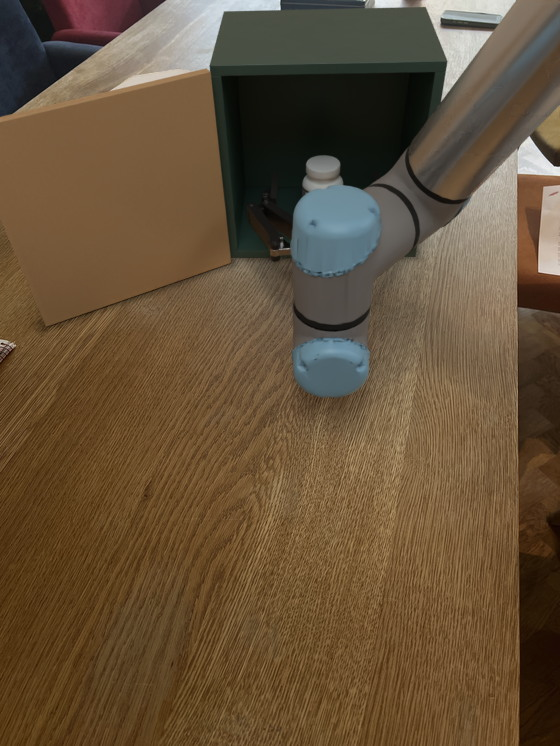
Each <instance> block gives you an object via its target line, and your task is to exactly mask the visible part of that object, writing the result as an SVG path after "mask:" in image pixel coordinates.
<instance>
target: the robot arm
mask: <svg viewBox="0 0 560 746" xmlns="http://www.w3.org/2000/svg"><path fill="white" fill-rule="evenodd" d="M559 107H560V0H515V1H514V3H513V4H512V5H511V7H510V8H509V9H508V11H507V12H506V14H505V15H504V16H503V17H502V19H501V20H500V21H499V23H498V24H497V26H496V27H495V28H494V30H493V31H492V32H491V33H490V35H489V36H488V38H487V39H486V41H485V42H484V43H483V45H482V46H481V47H480V49H479V50H478V51H477V53H476V54H475V55H474V56H473V58H472V59H471V61H470V62H469V64H467V66H466V67H465V69H464V70H463V71H462V72H461V74H460V75H459V77H458V78H457V80H456V81H455V82H454V84H453V85H452V86H451V88H450V89H449V90H448V92H447V93H446V94H445V96H444V97H443V98H442V99H441V103H440V104H439V105H438V107H437V108H436V110H435V111H434V112H433V114H432V115H431V116H430V118H429V119H428V120H427V122H426V123H425V124H424V126H423V127H422V128H421V130H420V131H419V133H418V134H417V135H416V137H415V138H414V139H413V141H412V143H411V145H410V146H409V147H408V148H407V149H406V151H405V152H404V153H403V155H402V156H401V157H400V159H399V160H398V161H397V163H396V164H395V165H394V166H393V168H392V169H391V170H390V171H389V172H388V173H387V174H385V175H384V176H383V177H381V178H380V173H379V171H374V172H373V183H372V184H371V185H369V186H367V187H366V188H365V189H363V190H361V189H359V188H355V187H352V186H345V185H331V186H328V188H327V189H315V190H312V191H310V192H309V193H307V194H306V195H304V196H303V197H302V198H301V199H300V200H299V202H298V203H297V205H296V207H295V210H294V214H293V216H292V215H291V214H289V213H288V212H286V211H285V210H283V209H282V208H280V207H279V206H277V205H278V191H279V188H278V172H272V183H271V190H264V191H263V192H262V195H261V203H260V204H257V205H256V204H255V203H253V202H250V203H248V204H247V216H248V223H249V224H250V225H251V227H252V228H253V229H254V231H255V232H256V233H257V235H258V236H259V237H260V239H261V240H262V241H263V243H264V244H265V245H266V247H267V248H268V249H269V251H270V260H271V262H274V263H275V262H279V261H281V257H280V255H291V256H292V257H291V270H292V271H291V272H292V299H293V300H292V350H291V362H292V373H293V378H294V380H295V382H296V384H297V385H298V386H299V388H301V390H303V391H304V392H305V393H307V394H309V395H312V396H314V397H317V398H321V399H326V398H330V399H331V398H334V399H340V398H344V397H347V396H349V395H353V394H354V393H356V392H357V391H359V390H360V389H361V388H362V387H363V386H364V385H365V384H366V382H367V381H368V377H369V375H370V358H371V351H370V350H369V342H368V338H369V325H370V318H371V317H370V316H371V308H372V300H373V292H374V291H373V290H374V284H375V282H376V280H377V279H378V278H379V277H380V276H382V275H383V274H384V273H385V272H386V271H388V270H389V269H390V268H392V267H393V266H394V265H396V264H397V263H398V262H400V261H401V260H402V259H404V258H405V257H404V256H406V255H407V254H408V253H410V252H411V251H412V250H413V249H414V248H415V247H416V246H417V247H418V246H419V245H421V244H422V243H423V242H424V241H426V240H428V238H430V237H431V236H432V235H434V234H435V233H436V232H438V231H439V230H440V229H443V228H445V227H446V226H447V225H449V224H450V223H451V222H453V220H455V219H456V218H457V217H458V216H459V215H460V214H461V212H462V211H464V209H465V208H466V207H467V206H468V204H470V201H471V199H472V197H473V194H475V193H476V191H478V190H479V189H480V187H481V186H482V185H483V184H484V183H486V181H487V180H488V179H489V178H490V177H492V175H493V174H494V173H495V172H496V171H497V170H498V169H499V168H500V167H501V166H502V165H503V164H504V163H505V162H506V161H507V160H508V159H509V158H510V157H511V155H513V154H514V152H516V151H517V150H518V149H519V147H521V146H522V144H523V143H524V142H526V140H528V138H529V137H530V136H531V135H532V134H533V133H534V132H536V130H537V129H538V128H539V127H540V126H542V124H543V123H544V122H545V121H546V120H547V119H548V118H549V117H550V116H551V115H552V114H553V113H554V111H556V110H557V109H558V108H559ZM277 230H278V231H279V232H281V233H282V234H283V235H285V236H286V237H288V238H289V239H291V243H287V242H286V240H284V239H283V236H282V235H280V236H279V233H278V231H277Z"/></svg>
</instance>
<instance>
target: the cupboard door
mask: <svg viewBox="0 0 560 746" xmlns="http://www.w3.org/2000/svg"><path fill="white" fill-rule="evenodd" d="M192 71H193V70H192ZM111 90H112V89H111ZM0 222H1V224H2V227H3V229H4V231H5V234H6V236H7V238H8V241H9V244H10V245H11V249H12V250H13V253H14V255H15V257H16V260H17V262H18V264H19V266H20V269H21V272H22V273H23V276H24V278H25V281H26V283H27V286H28V288H29V290H30V293H31V294H32V297H33V300H34V302H35V304H36V307H37V309H38V311H39V314H40V317H41V319H42V321H43V324H44V326H45V327H46V328H47V327H50V326H53V325H55V324H58V323H61V322H64V321H67V320H70V319H73V318H75V317H79V316H81V315H84V314H88V313H90V312H93V311H96V310H99V309H102V308H104V307H108V306H111V305H113V304H116V303H119V302H123V301H124V300H128V299H131V298H134V297H136V296H139V295H142V294H145V293H148V292H151V291H154V290H156V289H160V288H163V287H166V286H168V285H171V284H175V283H177V282H180V281H183V280H185V279H189V278H191V277H194V276H197V275H200V274H203V273H206V272H209V271H211V270H215V269H217V268H220V267H223V266H226V265H229V264H232V258H231V257H230V247H229V238H228V229H227V219H226V210H225V201H224V192H223V182H222V173H221V164H220V154H219V145H218V136H217V127H216V117H215V108H214V99H213V89H212V80H211V72H210V69H208V68H202V69H198V70H194V71H193V72H189V73H184V74H180V75H176V76H172V77H167V78H163V79H159V80H155V81H150V82H146V83H142V84H138V85H133V86H129V87H125V88H121V89H116V90H112V91H110V90H107V91H104V92H100V93H95V94H91V95H87V96H83V97H79V98H75V99H71V100H66V101H61V102H57V103H53V104H48V105H45V106H41V107H36V108H32V109H28V110H23V111H20V112H15V113H11V114H6V115H2V116H0Z"/></svg>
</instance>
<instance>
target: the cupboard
mask: <svg viewBox="0 0 560 746" xmlns="http://www.w3.org/2000/svg"><path fill="white" fill-rule="evenodd" d="M448 62H449V61H448V59H447V56H446V54H445V52H444V49H443V46H442V44H441V40H440V39H439V37H438V34H437V31H436V29H435V26H434V23H433V21H432V18H431V16H430V14H429V12H428V9H427V7H426V6H405V7H404V6H403V7H402V6H401V7H358V8H357V7H356V8H355V7H354V8H316V9H315V8H314V9H313V8H312V9H311V8H310V9H271V10H269V9H268V10H227V11H226V10H225V11H224V10H223V14H222V17H221V21H220V24H219V29H218V32H217V35H216V39H215V44H214V47H213V51H212V54H211V58H210V62H209V71H210V72H211V80H212V89H213V99H214V108H215V117H216V127H217V136H218V145H219V154H220V164H221V173H222V182H223V192H224V201H225V210H226V219H227V229H228V238H229V247H230V257H231V259H237V258H238V259H241V258H242V259H244V258H247V259H254V258H260V259H261V258H267V259H268V258H270V251H269V249H268V248H267V247H266V245H265V244H264V243H263V241H262V240H261V239H260V237H259V236H258V235H257V233H256V232H255V231H254V229H253V228H252V227H251V225H250V224H249V223H248V216H247V204H248V203H250V202H253V203H255V204H256V205H257V204H260V203H261V195H262V192H263V191H264V190H271V183H272V172H278V188H279V191H278V205H277V206H279V207H280V208H282V209H283V210H285V211H286V212H288V213H289V214H291V215H292V216H293V214H294V210H295V207H296V205H297V203H298V202H299V200H300V199H301V198H302V183H303V179H304V177H305V176H306V175H307V173H306V163H307V161H308V160H309V159H310V158H312V157H315V156H319V155H326V156H332V157H334V158H336V159H338V160H339V162H340V173H339V175H340V176H341V178H342V180H343V185H345V186H352V187H355V188H359V189H361V190H363V189H365V188H366V187H367V186H369V185H371V184H372V183H373V172H374V171H379V173H380V178H381V177H383V176H384V175H385V174H387V173H388V172H389V171H390V170H391V169H392V168H393V166H394V165H395V164H396V163H397V161H398V160H399V159H400V157H401V156H402V155H403V153H404V152H405V151H406V149H407V148H408V147H409V146H410V145H411V143H412V141H413V139H414V138H415V137H416V135H417V134H418V133H419V131H420V130H421V128H422V127H423V126H424V124H425V123H426V122H427V120H428V119H429V118H430V116H431V115H432V114H433V112H434V111H435V110H436V108H437V107H438V105H439V104H440V103H441V101H442V100H443V93H444V87H445V81H446V80H445V79H446V73H447V68H448ZM277 231H278V230H277ZM278 233H279V236H280V235H282V236H283V239H284V240H286V242H287V243H291V239H289V238H288V237H286V236H285V235H283V234H282V233H281V232H279V231H278ZM417 250H418V246H416V247H415V248H414V249H413V250H412V251H411V252H410V253H408V254H407V255H406V256H404V257H403V258H407V257H408V258H415V257H416V256H417ZM280 258H292V256H291V255H280ZM270 259H271V258H270Z"/></svg>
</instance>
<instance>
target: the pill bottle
mask: <svg viewBox="0 0 560 746" xmlns="http://www.w3.org/2000/svg"><path fill="white" fill-rule="evenodd" d="M306 173H307V175H306V176H305V177H304V179H303V183H302V197H303V196H304V195H306V194H307V193H309V192H310V191H312V190H315V189H327V188H328V186H331V185H343V180H342V178H341V176H340V175H339V173H340V162H339V160H338V159H336V158H334V157H332V156H326V155H319V156H315V157H312V158H310V159H309V160H308V161H307V163H306Z"/></svg>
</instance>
